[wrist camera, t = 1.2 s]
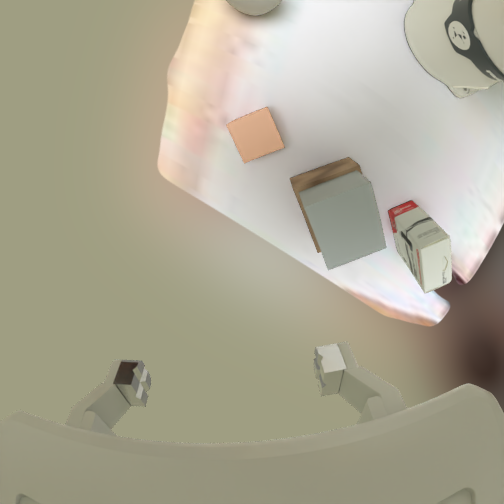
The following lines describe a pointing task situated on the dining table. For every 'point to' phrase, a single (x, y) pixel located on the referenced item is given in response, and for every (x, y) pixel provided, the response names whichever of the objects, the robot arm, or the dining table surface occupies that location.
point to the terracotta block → (255, 135)
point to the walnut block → (320, 177)
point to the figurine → (254, 6)
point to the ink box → (422, 245)
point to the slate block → (344, 218)
